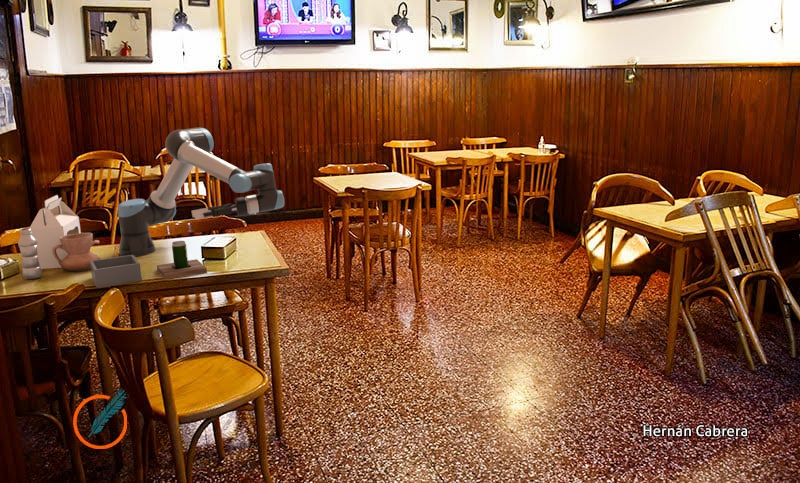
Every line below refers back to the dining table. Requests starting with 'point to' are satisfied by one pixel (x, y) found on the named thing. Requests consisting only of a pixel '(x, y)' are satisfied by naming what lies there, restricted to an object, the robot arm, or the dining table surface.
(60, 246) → the ceramic jug
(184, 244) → the beer can
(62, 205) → the gable box
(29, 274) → the plastic bottle
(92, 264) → the bin
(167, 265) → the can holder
